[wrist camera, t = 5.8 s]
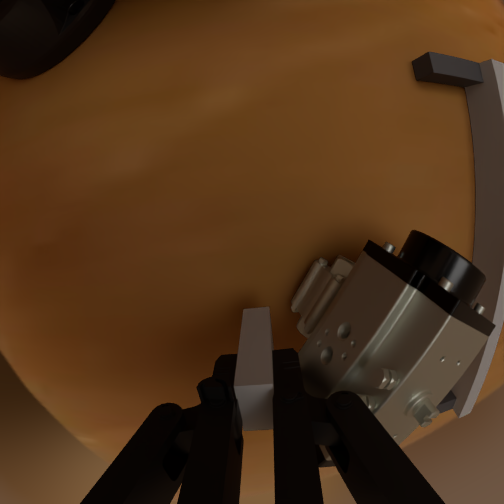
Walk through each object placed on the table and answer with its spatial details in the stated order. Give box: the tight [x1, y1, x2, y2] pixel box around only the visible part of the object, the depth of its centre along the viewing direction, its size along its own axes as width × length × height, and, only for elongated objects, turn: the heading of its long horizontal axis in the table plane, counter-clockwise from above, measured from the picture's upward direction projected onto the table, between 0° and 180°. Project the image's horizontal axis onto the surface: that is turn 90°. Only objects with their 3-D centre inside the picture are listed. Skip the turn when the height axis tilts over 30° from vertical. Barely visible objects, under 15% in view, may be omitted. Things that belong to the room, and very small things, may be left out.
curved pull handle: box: [412, 52, 504, 418], centre depth 17 cm, size 30×9×4 cm, turn 8°
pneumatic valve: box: [291, 230, 496, 467], centre depth 14 cm, size 6×12×12 cm, turn 153°
